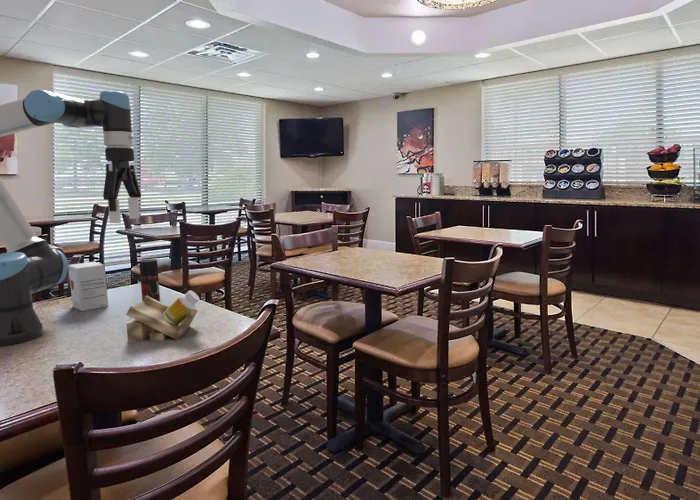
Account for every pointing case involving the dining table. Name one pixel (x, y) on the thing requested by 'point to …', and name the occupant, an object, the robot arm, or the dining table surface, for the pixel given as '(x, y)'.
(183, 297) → the supplement bottle
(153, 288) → the deodorant
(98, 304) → the supplement box
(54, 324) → the dining table surface
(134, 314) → the cradle
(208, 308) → the dining table surface
